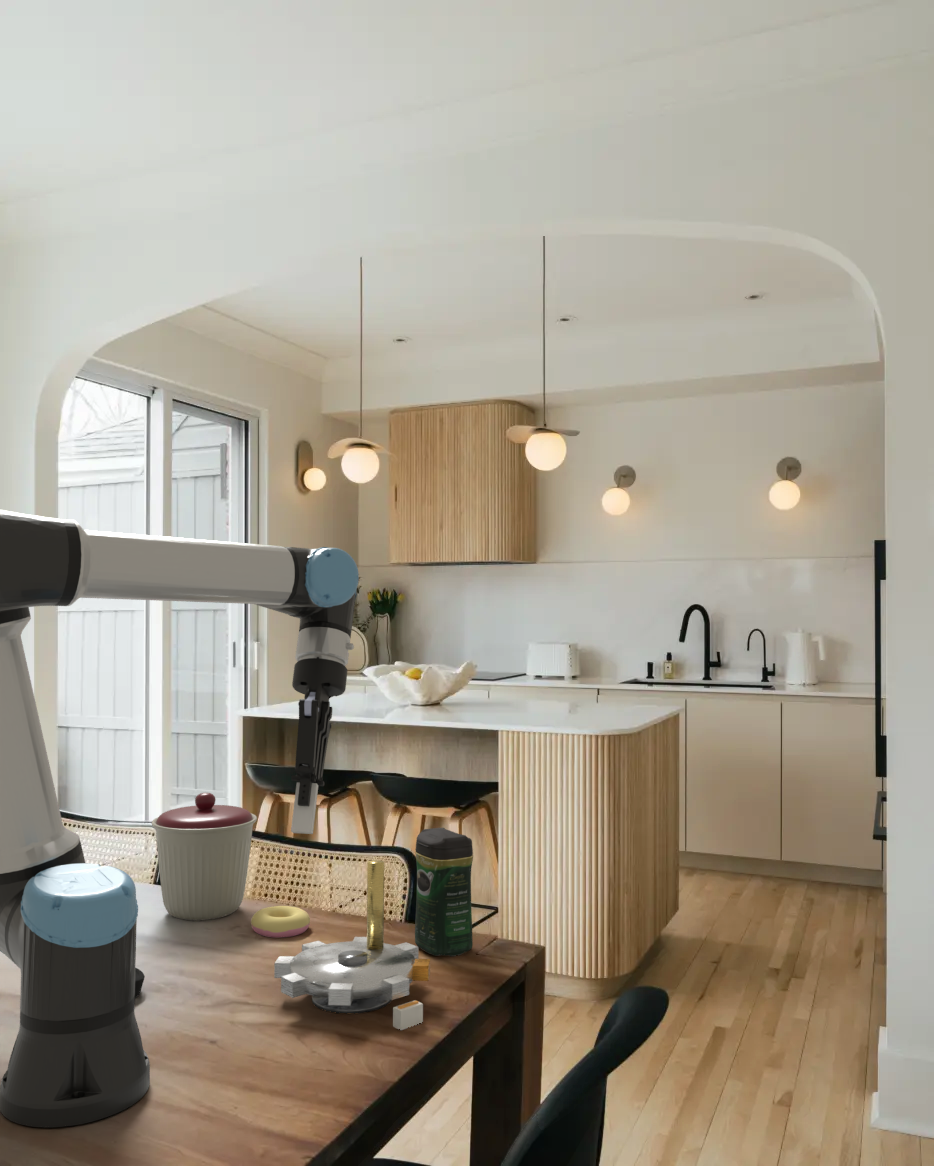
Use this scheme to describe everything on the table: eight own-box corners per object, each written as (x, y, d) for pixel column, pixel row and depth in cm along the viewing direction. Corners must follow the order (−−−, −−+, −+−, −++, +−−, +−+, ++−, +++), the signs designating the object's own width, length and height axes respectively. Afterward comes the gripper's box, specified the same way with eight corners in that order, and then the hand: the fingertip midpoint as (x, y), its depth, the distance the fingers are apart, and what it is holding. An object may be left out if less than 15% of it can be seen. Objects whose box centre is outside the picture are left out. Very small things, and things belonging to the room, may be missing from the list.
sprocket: (385, 1014, 121) (386, 899, 122) (244, 990, 129) (246, 882, 130) (452, 962, 140) (452, 863, 141) (326, 943, 148) (327, 850, 149)
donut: (275, 956, 159) (321, 935, 165) (274, 930, 158) (321, 909, 165) (240, 933, 166) (286, 913, 172) (239, 907, 165) (285, 889, 171)
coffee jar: (480, 953, 154) (481, 833, 154) (436, 961, 150) (436, 838, 150) (450, 936, 162) (451, 822, 163) (407, 943, 158) (408, 827, 159)
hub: (369, 1019, 128) (369, 997, 128) (296, 1006, 132) (296, 985, 132) (406, 990, 138) (406, 970, 138) (337, 979, 142) (337, 960, 142)
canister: (276, 908, 177) (278, 790, 178) (198, 934, 162) (201, 805, 163) (207, 893, 187) (209, 781, 188) (127, 916, 172) (130, 795, 173)
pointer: (400, 1030, 124) (401, 1009, 124) (393, 1026, 125) (393, 1005, 125) (422, 1022, 126) (422, 1002, 127) (414, 1019, 128) (415, 998, 128)
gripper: (341, 650, 134) (322, 825, 125) (353, 679, 146) (337, 841, 137) (286, 648, 135) (263, 822, 125) (303, 677, 147) (283, 838, 137)
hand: (301, 832), depth 131 cm, fingers closed
